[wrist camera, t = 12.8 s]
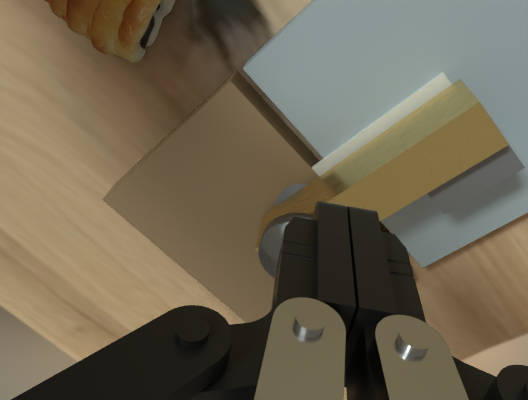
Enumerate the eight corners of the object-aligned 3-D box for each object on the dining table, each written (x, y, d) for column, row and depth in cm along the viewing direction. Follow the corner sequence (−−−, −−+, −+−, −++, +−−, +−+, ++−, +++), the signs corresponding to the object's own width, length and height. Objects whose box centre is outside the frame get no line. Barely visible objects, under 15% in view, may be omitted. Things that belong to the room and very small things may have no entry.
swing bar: (297, 250, 34) (293, 297, 30) (253, 206, 32) (242, 248, 28) (494, 129, 27) (525, 166, 23) (450, 65, 26) (474, 93, 21)
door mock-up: (114, 184, 36) (80, 226, 31) (471, -148, 23) (512, -170, 18) (279, 328, 42) (272, 383, 37) (634, 133, 29) (699, 177, 24)
